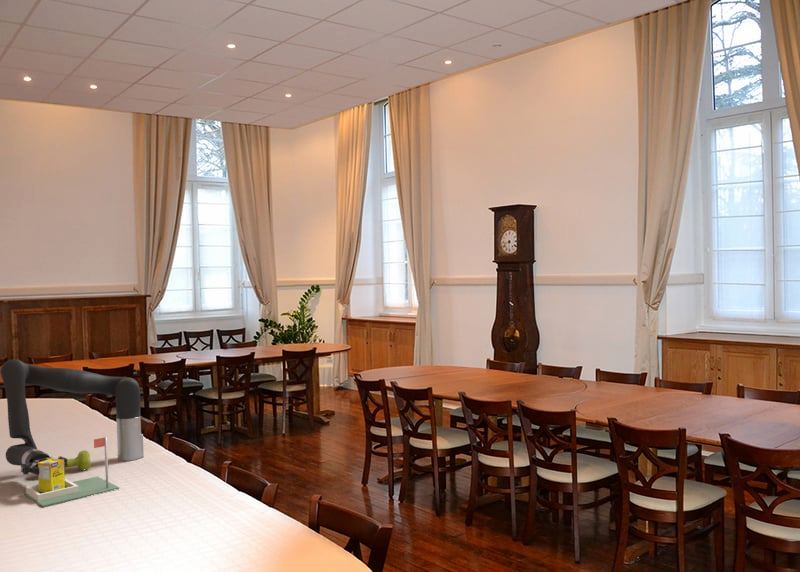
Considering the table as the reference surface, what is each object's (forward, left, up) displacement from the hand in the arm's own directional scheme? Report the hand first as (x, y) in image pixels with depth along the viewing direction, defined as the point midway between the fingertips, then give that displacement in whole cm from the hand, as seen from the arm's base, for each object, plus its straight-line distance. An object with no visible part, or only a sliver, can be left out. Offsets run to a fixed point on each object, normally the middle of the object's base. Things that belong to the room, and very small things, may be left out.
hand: (51, 468), depth 236 cm
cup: (-5, +4, -9) cm, 11 cm away
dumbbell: (-13, -24, -9) cm, 28 cm away
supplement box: (0, +1, -8) cm, 8 cm away
